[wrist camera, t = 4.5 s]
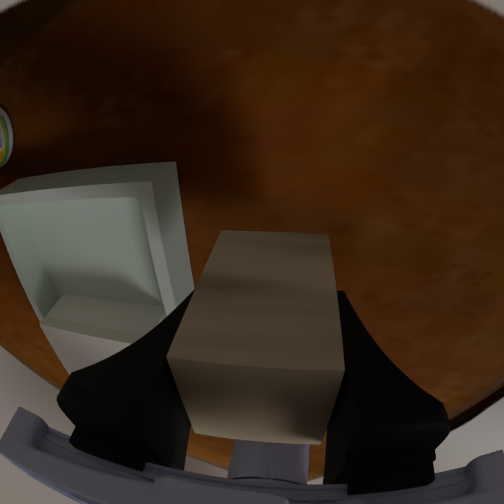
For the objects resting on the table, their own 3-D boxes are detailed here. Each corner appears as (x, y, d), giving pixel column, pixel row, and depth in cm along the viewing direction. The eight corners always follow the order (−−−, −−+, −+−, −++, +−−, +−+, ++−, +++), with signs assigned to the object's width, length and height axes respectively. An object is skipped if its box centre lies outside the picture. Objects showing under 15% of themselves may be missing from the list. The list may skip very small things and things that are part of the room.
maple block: (319, 314, 15) (320, 444, 9) (229, 310, 16) (194, 433, 10) (328, 234, 13) (344, 369, 7) (221, 230, 14) (166, 356, 8)
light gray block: (185, 373, 26) (173, 409, 23) (93, 355, 28) (76, 385, 24) (166, 306, 22) (147, 346, 19) (63, 293, 24) (39, 324, 20)
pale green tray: (212, 379, 28) (204, 409, 25) (89, 356, 30) (75, 380, 27) (176, 161, 18) (151, 181, 15) (19, 178, 19) (-11, 196, 16)
